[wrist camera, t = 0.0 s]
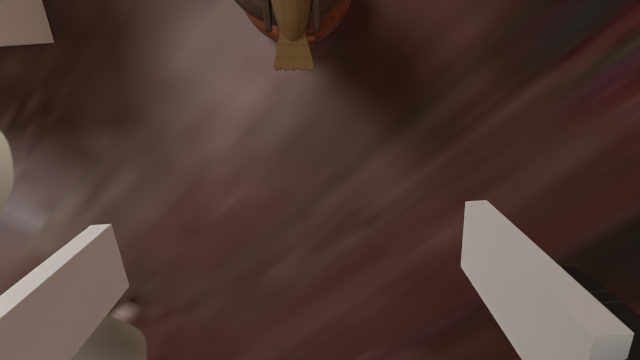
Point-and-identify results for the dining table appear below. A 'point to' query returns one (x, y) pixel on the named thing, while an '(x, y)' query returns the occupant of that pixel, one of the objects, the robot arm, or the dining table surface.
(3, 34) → the housing
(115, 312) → the dining table surface
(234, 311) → the dining table surface
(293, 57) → the bird nest figurine
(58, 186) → the dining table surface
